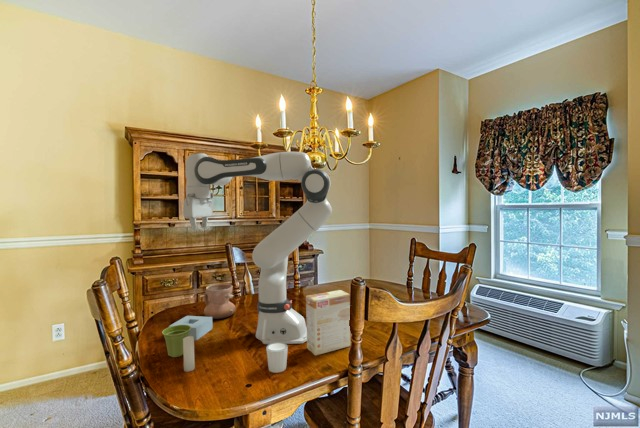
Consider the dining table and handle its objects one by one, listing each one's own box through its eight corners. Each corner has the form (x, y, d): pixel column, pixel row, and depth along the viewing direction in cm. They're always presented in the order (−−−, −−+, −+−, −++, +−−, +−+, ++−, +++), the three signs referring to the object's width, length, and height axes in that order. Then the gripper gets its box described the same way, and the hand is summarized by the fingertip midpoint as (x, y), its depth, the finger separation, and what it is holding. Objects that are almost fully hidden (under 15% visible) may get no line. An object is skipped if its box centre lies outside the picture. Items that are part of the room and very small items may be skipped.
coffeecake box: (341, 339, 122) (340, 289, 121) (351, 346, 115) (350, 293, 115) (306, 348, 114) (305, 295, 114) (315, 356, 108) (314, 300, 108)
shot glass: (288, 362, 104) (288, 341, 104) (287, 373, 97) (287, 351, 97) (268, 363, 104) (267, 342, 104) (265, 374, 97) (264, 351, 97)
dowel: (196, 366, 102) (195, 336, 102) (190, 371, 99) (190, 340, 99) (187, 366, 103) (186, 335, 103) (181, 371, 100) (180, 340, 99)
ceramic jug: (244, 314, 152) (243, 285, 151) (220, 324, 139) (219, 292, 139) (218, 308, 161) (217, 281, 160) (194, 317, 148) (193, 287, 148)
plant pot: (160, 361, 106) (159, 336, 106) (165, 349, 115) (164, 326, 115) (190, 357, 109) (189, 332, 108) (193, 346, 118) (192, 323, 117)
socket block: (212, 328, 134) (212, 317, 134) (196, 340, 123) (196, 327, 122) (187, 327, 137) (186, 315, 136) (169, 338, 125) (168, 326, 125)
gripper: (194, 193, 116) (196, 230, 116) (215, 195, 136) (216, 226, 136) (178, 193, 116) (179, 230, 116) (200, 195, 136) (201, 227, 137)
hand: (199, 228), depth 126 cm, fingers open, 8 cm apart
